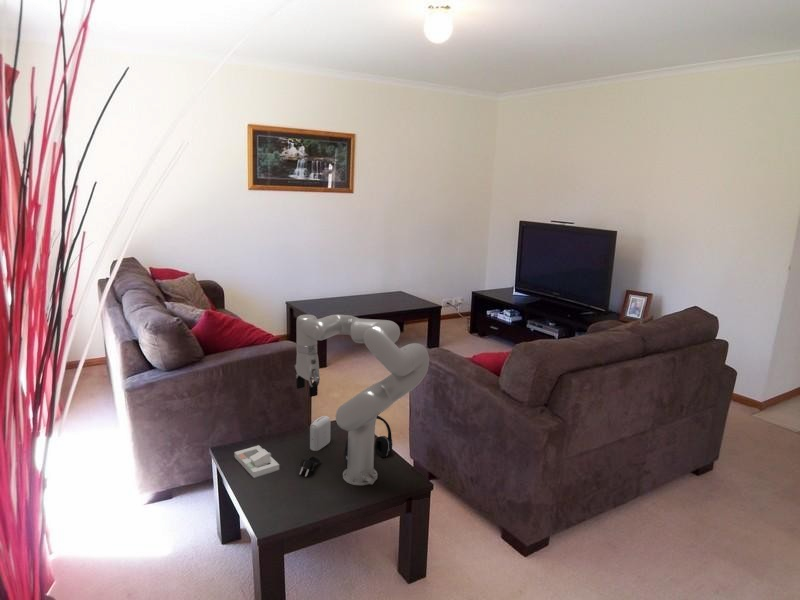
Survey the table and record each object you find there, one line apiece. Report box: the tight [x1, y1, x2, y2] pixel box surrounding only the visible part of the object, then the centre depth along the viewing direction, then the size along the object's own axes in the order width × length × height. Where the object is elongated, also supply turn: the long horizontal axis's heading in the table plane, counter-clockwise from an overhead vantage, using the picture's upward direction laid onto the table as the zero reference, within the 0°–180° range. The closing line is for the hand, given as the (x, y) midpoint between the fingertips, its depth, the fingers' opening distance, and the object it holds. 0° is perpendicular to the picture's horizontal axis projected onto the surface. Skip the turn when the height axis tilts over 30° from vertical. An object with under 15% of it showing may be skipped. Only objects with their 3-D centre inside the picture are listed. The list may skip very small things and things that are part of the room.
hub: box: [234, 444, 280, 479], centre depth 205 cm, size 18×10×3 cm, turn 38°
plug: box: [250, 448, 272, 468], centre depth 201 cm, size 4×4×7 cm
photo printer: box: [309, 415, 331, 452], centre depth 219 cm, size 10×4×12 cm, turn 152°
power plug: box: [297, 454, 323, 477], centre depth 201 cm, size 6×8×12 cm
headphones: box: [343, 415, 393, 464], centre depth 209 cm, size 20×7×18 cm, turn 126°
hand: (306, 391), depth 203 cm, fingers open, 9 cm apart
